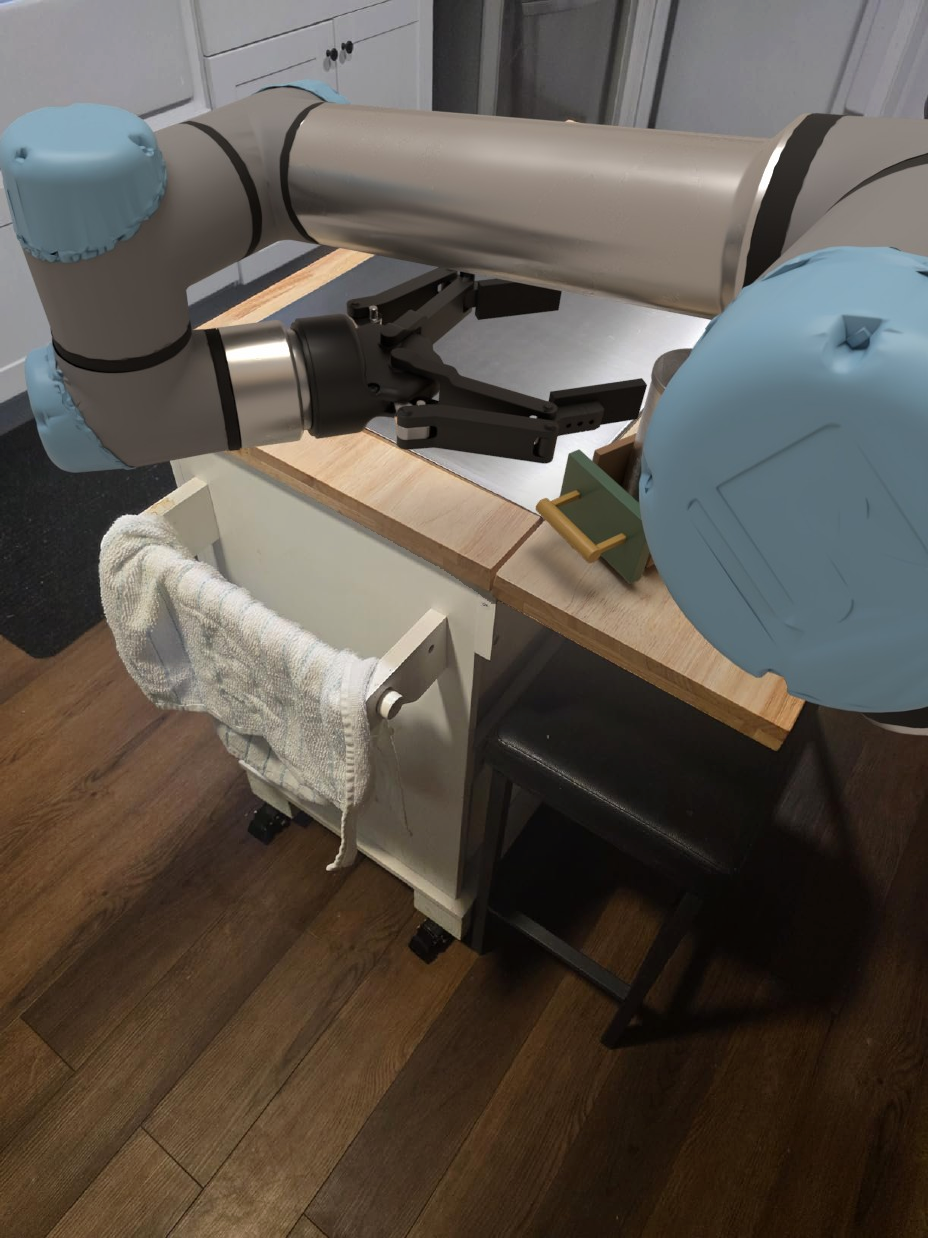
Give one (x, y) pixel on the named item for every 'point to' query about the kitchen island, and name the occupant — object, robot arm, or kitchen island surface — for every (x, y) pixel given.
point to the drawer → (600, 510)
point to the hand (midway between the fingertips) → (597, 341)
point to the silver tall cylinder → (651, 413)
